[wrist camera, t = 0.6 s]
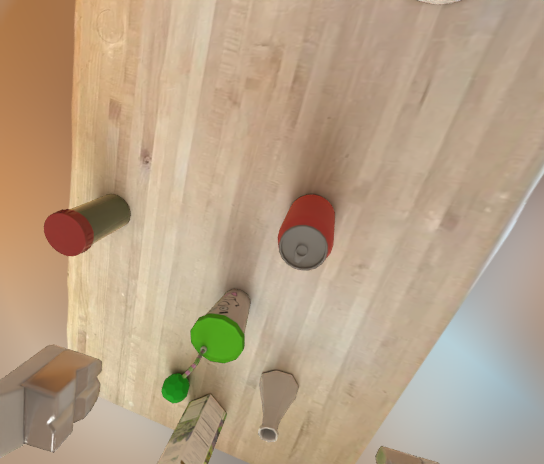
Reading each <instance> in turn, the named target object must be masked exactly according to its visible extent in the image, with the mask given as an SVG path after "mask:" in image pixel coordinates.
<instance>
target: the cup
mask: <svg viewBox="0 0 544 464" xmlns="http://www.w3.org/2000/svg"><path fill="white" fill-rule="evenodd" d="M249 309H250V298H249V297H248V295H247V294H246V293H245V292H243V291H242V290H238V289H232V290H230V291H228V292H227V293H226V294H225V295H224V296H223V297H222V298H221V299H220V300H219V301H218V302H217V303H216V304H215V305H214V306H213V307H212V308H211V310H210V311H209V312H208V313H207V314H206V315H205V316H202V317H199V319H198V320H197V322H196V323H195V325H194V326H193V328H192V329H191V331H190V332H191V343H192V344H193V346H194V347H195V349H196V350H197V352H198V353H199V355H198V357H197V358H196V360H195V362H194V363H193V364H192V365H191V367H190V368H189V369H188V370H187V371H186V372H185V373H184V374H183V375H182V377H183V378H184V379H185V378H186V377H187V376H188V375H189V374H190V373H191V372H192V370H193V369H194V368H195V367H196V366H197V365H198V363H199V361H200V359H201V358H202V356H203V357H205V358H206V359H208V360H210V361H213V362H219V363H227V362H230V361H233V360H236V359H237V358H238V356H239V355H240V354H241V352H242V351H243V349H244V333H245V328H246V323H247V319H248V314H249Z"/></svg>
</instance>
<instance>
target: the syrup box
mask: <svg viewBox="0 0 544 464" xmlns="http://www.w3.org/2000/svg"><path fill="white" fill-rule="evenodd" d="M226 416H227V413H226V412H225V411H224V410H223V408H222V407H221V406H220V405H219V404H218V402H217V401H216V400H215V399H214V398H213V396H212V395H211V394H209V395H206V396H204V397H201V398H199V399H196V400H194V401H191V402H189V404H188V406H187V408H186V410H185V412H184V413H183V415H182V417H181V419H180V421H179V423H178V425H177V427H176V429H175V430H174V433H173V434H172V436H171V438H170V440H169V442H168V444H167V446H166V448H165V449H164V452H163V453H162V455H161V457H160V459H159V461H158V463H157V464H208V462H209V459H210V457H211V455H212V452H213V449H214V447H215V444H216V442H217V439H218V436H219V434H220V431H221V429H222V426H223V423H224V421H225V418H226Z"/></svg>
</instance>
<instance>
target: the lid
mask: <svg viewBox="0 0 544 464" xmlns="http://www.w3.org/2000/svg"><path fill="white" fill-rule="evenodd" d="M44 233H45V236H46V238H47V240H48V242H49V243H50V245H51V246H52V247H53V248H54V249H55V250H56V251H58V252H60V253H61V254H64V255H66V256H76V255H79V254H80V253H83V252H85V251H87V249H89V248H90V247H91V245H92V244H93V240H94V232H93V229H92V226H91V224H90V223H89V221H88V220H87V219H86V218H85V217H84V216H83V215H82V214H80V213H78V212H77V211H74V210H69V209H66V210H60V211H58V212H56V213H53V214H52V215H50V216H49V217H48V218H47V219H46V221H45V224H44Z"/></svg>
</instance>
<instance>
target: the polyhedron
mask: <svg viewBox="0 0 544 464" xmlns="http://www.w3.org/2000/svg"><path fill="white" fill-rule="evenodd" d="M189 386H190V384H189V381H188V379H187V378H185V379H184V378H183V377H182V375H181V374H179V373H178V374H172V375H170V376H169V377H168V378H167V379H165V381H164V384H163V387H162V395H163V397H164V398H165V399H167V400H168V401H170V402H171V403H178V402H180V401H182V400H183V399H184V398H185V397H187V393H188V390H189Z"/></svg>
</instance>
